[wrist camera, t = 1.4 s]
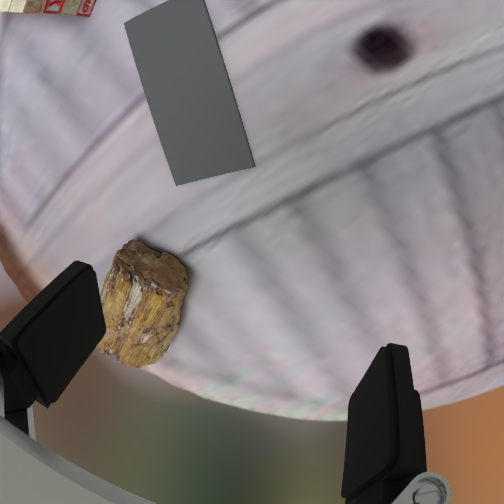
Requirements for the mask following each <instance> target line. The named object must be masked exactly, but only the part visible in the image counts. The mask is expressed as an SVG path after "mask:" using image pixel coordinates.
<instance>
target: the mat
mask: <svg viewBox="0 0 504 504" xmlns="http://www.w3.org/2000/svg"><path fill="white" fill-rule="evenodd" d="M124 25H125V29H126V32H127V36H128V39H129V43H130V46H131V50H132V53H133V56H134V60H135V63H136V66H137V70H138V73H139V76H140V79H141V83H142V86H143V89H144V92H145V95H146V99H147V102H148V105H149V108H150V111H151V114H152V117H153V120H154V123H155V126H156V129H157V132H158V135H159V138H160V141H161V144H162V147H163V150H164V153H165V156H166V159H167V162H168V164H169V167H170V170H171V173H172V176H173V179H174V182H175V184H176V186H178V185H182V184H185V183H189V182H193V181H197V180H201V179H205V178H209V177H213V176H217V175H221V174H225V173H230V172H234V171H238V170H243V169H247V168H251V167H254V166H255V164H254V160H253V157H252V154H251V150H250V147H249V143H248V140H247V136H246V133H245V130H244V126H243V123H242V120H241V116H240V113H239V110H238V106H237V103H236V100H235V96H234V93H233V90H232V86H231V83H230V80H229V77H228V73H227V70H226V67H225V64H224V61H223V57H222V54H221V51H220V48H219V45H218V42H217V38H216V35H215V32H214V29H213V26H212V23H211V20H210V17H209V14H208V10H207V7H206V4H205V1H204V0H169V1H166V2H164V3H162V4H160V5H158V6H156V7H154V8H152V9H150V10H148V11H146V12H144V13H142V14H140V15H138V16H136V17H134V18H132V19H131V20H129V21H127V22H125V23H124Z"/></svg>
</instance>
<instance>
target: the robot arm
mask: <svg viewBox="0 0 504 504" xmlns="http://www.w3.org/2000/svg"><path fill="white" fill-rule="evenodd" d="M105 333H106V323H105V318H104V314H103V309H102V304H101V299H100V294H99V288H98V283H97V277H96V272H95V271H94V270H93V267H92V266H91V265H89V264H87V263H84V262H81V261H74V262H73V263H72V264H71V265H69V266H68V267H67V268H66V269H65V270H64V271H63V272H62V273H60V274H59V275H58V276H57V277H56V278H55V279H54V280H53V281H52V282H51V283H50V284H49V285H47V286H46V287H45V288H44V289H43V290H42V291H41V292H40V293H39V294H38V295H37V296H36V297H35V298H34V299H33V300H32V301H31V302H30V303H29V304H28V305H27V306H26V307H24V308H23V310H21V311H20V312H19V313H18V315H17V316H15V317H14V319H13V320H12V321H11V322H10V323H9V324H8V325H7V326H6V327H5V328H4V329H3V330H2V331H1V332H0V504H156V503H154V502H151V501H149V500H146V499H143V498H141V497H139V496H137V495H134V494H132V493H129V492H127V491H125V490H123V489H120V488H118V487H116V486H114V485H112V484H110V483H108V482H106V481H104V480H102V479H100V478H98V477H96V476H94V475H92V474H90V473H88V472H87V471H85V470H83V469H81V468H79V467H78V466H76V465H74V464H72V463H71V462H69V461H67V460H65V459H64V458H62V457H60V456H59V455H57V454H56V453H54V452H52V451H51V450H49V449H48V448H46V447H44V446H43V445H41V444H40V443H38V442H37V441H36V439H35V432H34V421H33V410H32V404H33V403H34V401H35V400H36V401H37V402H38V403H40V404H42V405H43V406H45V407H46V408H48V407H49V406H50V404H51V403H54V402H56V401H57V400H58V398H59V397H60V395H61V394H62V393H63V391H64V390H65V388H66V387H67V385H68V384H69V383H70V381H71V380H72V379H73V377H74V376H75V374H76V373H77V372H78V370H79V369H80V368H81V366H82V365H83V364H84V362H85V361H86V359H87V358H88V357H89V355H90V354H91V353H92V351H93V350H94V349H95V347H96V346H97V345H98V344H99V342H100V341H101V340H102V338H103V337H104V335H105ZM341 496H342V498H346V500H345V504H449V503H450V500H451V489H450V486H449V484H448V482H447V481H446V480H445V478H444V477H443V476H441V475H439V474H438V473H434V472H427V468H426V451H425V438H424V427H423V417H422V408H421V400H420V395H419V393H418V391H417V390H414V386H413V379H412V372H411V365H410V358H409V352H408V348H407V347H406V346H403V345H398V344H393V343H389V344H387V346H386V347H381V348H380V349H379V351H378V353H377V355H376V356H375V358H374V360H373V361H372V363H371V365H370V367H369V368H368V370H367V371H366V373H365V375H364V376H363V378H362V380H361V381H360V383H359V384H358V386H357V388H356V389H355V391H354V392H353V394H352V396H351V398H350V400H349V405H348V422H347V437H346V451H345V462H344V472H343V481H342V490H341Z"/></svg>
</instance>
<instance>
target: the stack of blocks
mask: <svg viewBox="0 0 504 504" xmlns="http://www.w3.org/2000/svg"><path fill="white" fill-rule="evenodd" d="M95 2H96V0H0V12H17V13H48V14H68V15H75V16H85V17H90V15H91V12H92V10H93V7H94V5H95Z"/></svg>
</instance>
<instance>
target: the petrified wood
mask: <svg viewBox="0 0 504 504" xmlns="http://www.w3.org/2000/svg"><path fill="white" fill-rule="evenodd" d="M187 288H188V278H187V270H186V268H185V267H184V266H182V265H181V263H180V261H179V260H178V259H177V258H175V257H173V256H172V255H171V254H168V253H167V252H163V253H162V254H161V255H160V254H159V252H156V251H155V250H151V249H149V248H147V247H146V246H145V245H144V244H143V243H138V242H137V241H135V240H134V239H133V240H130V242H128V244H124V245H123V248H122V249H121V250H118V251H117V253H116V255H115V257H114V259H113V262H112V265H111V268H110V271H109V272H108V274H107V276H106V279H105V281H104V284H103V288H102V292H101V296H100V299H101V304H102V309H103V314H104V318H105V323H106V333H105V335H104V337H103V338H102V340H101V341H100V342H99V344H98V345H97V346H96V348H97V349H100V352H101V353H103V354H107V355H108V356H111V357H112V356H114V355H116V356H117V360H118V361H120V362H121V363H122V365H128V366H133V367H136V368H141V367H143V366H147V365H151V364H154V363H156V361H157V360H158V359H160V358H161V357H162V356H163V355H164V353H165V352H166V351H167V349H168V347H169V345H170V343H171V341H172V339H173V338H174V336H175V334H176V332H177V328H178V325H179V322H178V321H179V319H180V313H181V305H182V303H183V301H184V295H185V293H186V291H187Z"/></svg>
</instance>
